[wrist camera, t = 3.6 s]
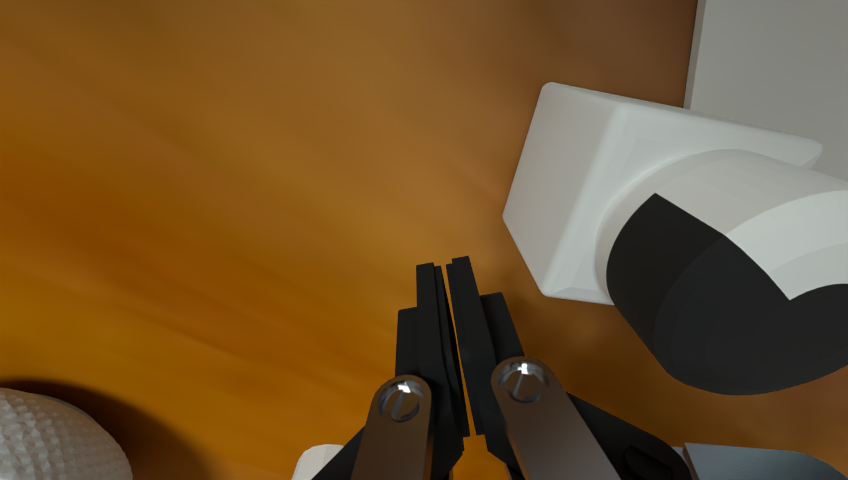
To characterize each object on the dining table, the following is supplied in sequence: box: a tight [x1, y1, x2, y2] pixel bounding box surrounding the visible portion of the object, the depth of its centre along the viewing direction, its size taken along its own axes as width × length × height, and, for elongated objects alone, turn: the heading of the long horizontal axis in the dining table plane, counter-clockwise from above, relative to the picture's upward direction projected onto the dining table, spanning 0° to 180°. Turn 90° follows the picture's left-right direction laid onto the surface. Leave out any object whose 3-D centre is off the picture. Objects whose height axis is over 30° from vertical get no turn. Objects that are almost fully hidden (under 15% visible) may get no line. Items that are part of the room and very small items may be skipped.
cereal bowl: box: [0, 388, 133, 480], centre depth 24 cm, size 17×17×7 cm
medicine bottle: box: [503, 82, 848, 395], centre depth 13 cm, size 7×7×12 cm
